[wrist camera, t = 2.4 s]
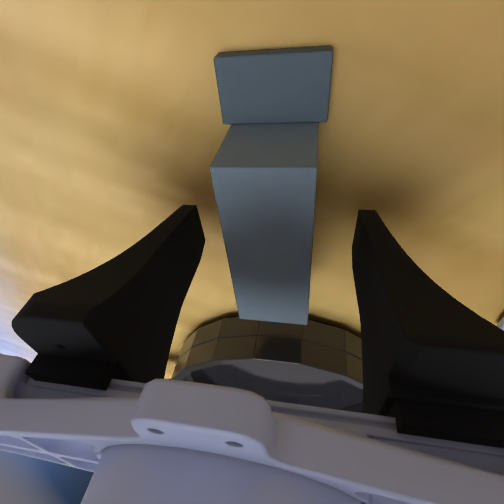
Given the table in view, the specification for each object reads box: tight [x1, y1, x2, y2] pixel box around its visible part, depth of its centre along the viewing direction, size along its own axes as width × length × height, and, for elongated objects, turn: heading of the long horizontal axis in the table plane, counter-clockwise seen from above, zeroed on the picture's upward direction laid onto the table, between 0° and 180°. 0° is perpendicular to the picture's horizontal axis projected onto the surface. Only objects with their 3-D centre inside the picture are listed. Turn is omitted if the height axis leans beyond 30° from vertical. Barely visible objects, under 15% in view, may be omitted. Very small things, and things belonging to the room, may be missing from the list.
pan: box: [171, 317, 363, 413], centre depth 25 cm, size 17×17×4 cm
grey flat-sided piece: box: [210, 46, 333, 326], centre depth 13 cm, size 12×4×4 cm, turn 5°
